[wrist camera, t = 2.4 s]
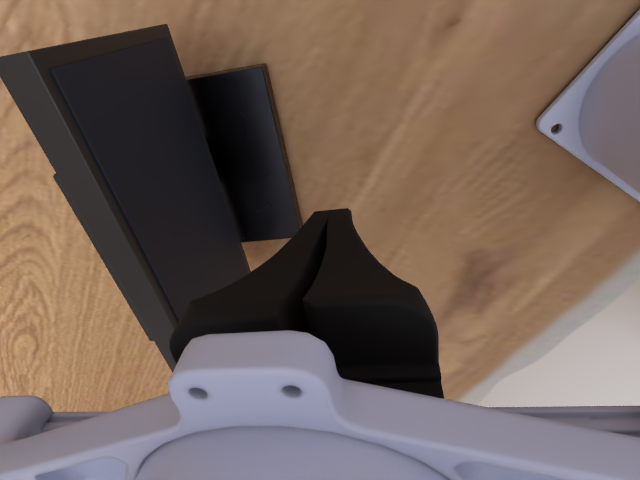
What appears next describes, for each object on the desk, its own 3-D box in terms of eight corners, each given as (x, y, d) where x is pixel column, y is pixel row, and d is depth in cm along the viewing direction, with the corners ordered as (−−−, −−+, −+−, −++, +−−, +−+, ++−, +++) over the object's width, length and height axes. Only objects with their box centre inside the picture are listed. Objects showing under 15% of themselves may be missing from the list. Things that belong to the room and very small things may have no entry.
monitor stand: (266, 62, 19) (246, 79, 16) (303, 228, 25) (294, 266, 21) (110, 90, 21) (62, 110, 18) (176, 240, 26) (149, 277, 23)
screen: (169, 22, 17) (30, 50, 10) (257, 284, 25) (214, 401, 18) (126, 31, 17) (-36, 63, 10) (226, 286, 25) (173, 402, 18)
